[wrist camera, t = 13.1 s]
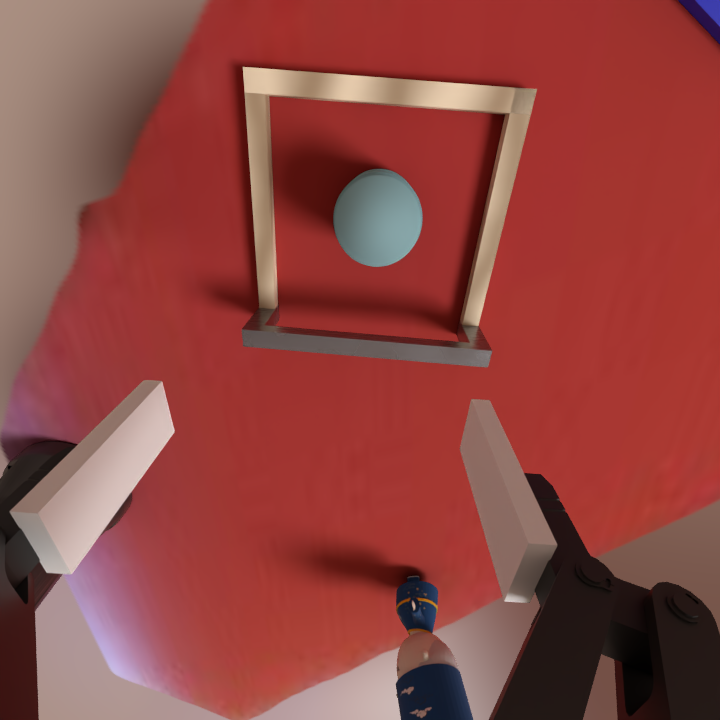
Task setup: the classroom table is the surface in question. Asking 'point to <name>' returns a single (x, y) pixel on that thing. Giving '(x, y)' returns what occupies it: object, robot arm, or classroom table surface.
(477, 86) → the shelf frame
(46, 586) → the robot arm
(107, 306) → the classroom table surface
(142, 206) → the classroom table surface
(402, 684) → the figurine
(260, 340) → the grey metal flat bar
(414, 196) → the grooved blue cylinder
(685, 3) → the mount
